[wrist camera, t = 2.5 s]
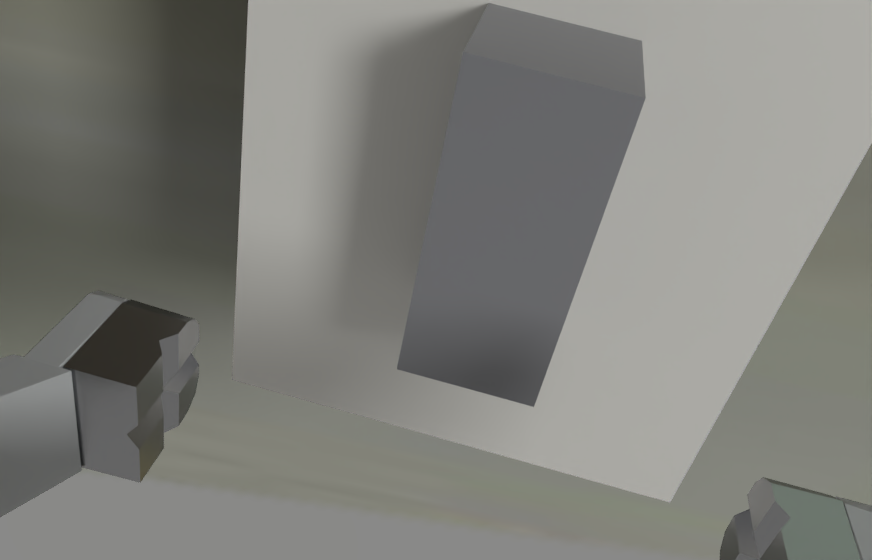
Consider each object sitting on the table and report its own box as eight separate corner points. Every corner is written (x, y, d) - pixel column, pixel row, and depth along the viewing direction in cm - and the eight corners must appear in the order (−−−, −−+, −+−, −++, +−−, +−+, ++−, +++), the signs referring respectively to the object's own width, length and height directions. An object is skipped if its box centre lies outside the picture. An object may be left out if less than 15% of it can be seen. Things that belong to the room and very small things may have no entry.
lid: (312, -354, 15) (178, -399, 10) (997, -200, 14) (1170, -175, 9) (263, 328, 24) (183, 458, 20) (666, 439, 23) (675, 598, 19)
